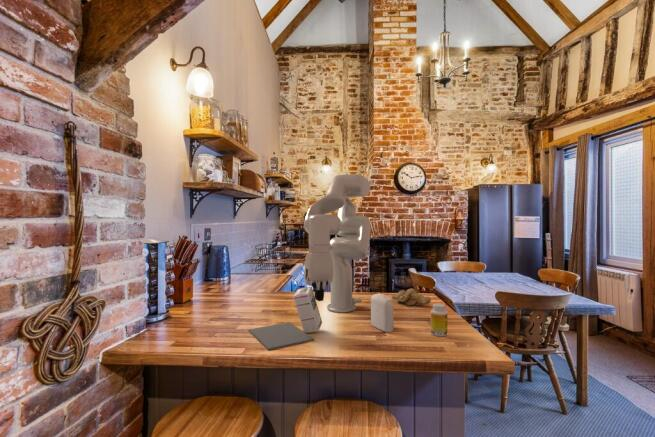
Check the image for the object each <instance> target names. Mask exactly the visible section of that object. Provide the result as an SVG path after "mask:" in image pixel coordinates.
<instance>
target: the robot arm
mask: <svg viewBox="0 0 655 437" xmlns="http://www.w3.org/2000/svg"><path fill="white" fill-rule="evenodd" d="M326 191H327V192H326V194H325V195H324V196H323V197H321V198H319V199H318V200H316V201H315V202H314V203H312V204H311V205H310V206H309V208H308V209H307V212H306V215H305V218H304V219H303V220H304V222H303V228H304V231H305V232H306V233H307V234H308V253H306V255H305V259H304V260H305V261H304V267H303V268H304V271H303V272H304V273H303V278H304V280H305V285H306V286H309V287H312V289H313V290H314V296H315V300H316V302H323V301H324V300H325V299H324V298H325V290H326V288H327V286H328V284H330V303H329V304H327V306H326V309H327V310H328V311H330V312H333V313H350V312H354V311H355V310H356V309H357V306H356V305H355V304H356V303H357V304H359V303H362V298H360V297H358V298H356V297H353V268H352V266H351V263H350V262H349V261H348V260H365V259H366V258H367V257H368V254H369V247H370V238H371V228H372V227H371V221H370V219H369V217H368V216H365V215H356V214H357V207H356V205H355V204H354V202H353V201H352V200H351V199H350V198H356V197H357V198H359V197H361V198H362V197H367V196H368V195H369V194H370V192H371V184H370V181H369V179H368V178H367V177H365V176H363V175H361V174H357V173H355V174H354V173H350V174H337V175H334V177H332V179H331V181H330V184H329V186H328V189H327V190H326ZM335 211H337V214H330V213H333V212H335ZM331 235H337V236H336V237H332V238H331Z"/></svg>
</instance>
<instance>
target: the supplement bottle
mask: <svg viewBox="0 0 655 437" xmlns="http://www.w3.org/2000/svg"><path fill="white" fill-rule="evenodd" d="M430 333H431V335H433V336H434V337H447V335H448V311H447V310H446V305H445V304H443V303H433V305H432V309H431V310H430Z"/></svg>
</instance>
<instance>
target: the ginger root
mask: <svg viewBox="0 0 655 437" xmlns="http://www.w3.org/2000/svg"><path fill="white" fill-rule="evenodd" d="M391 298H392V299H393V300H396V303H398V304H401V303H403V304H405V305H406V306H407V307H409V306H410V307H411V306H414V305H415V306H421V307H422V306H426V305H429V304H430V303H431V302H432V299H431V297H430V296H428V295H427V296H425V295H423V294H421V293H419V292H417V291H416V290H415V289H414V287H413V288H412V287H411V288H408V289H407V290H404V289H401V290H399V291H398V292H397V293H396V294H393V295H391Z"/></svg>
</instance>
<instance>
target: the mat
mask: <svg viewBox="0 0 655 437" xmlns="http://www.w3.org/2000/svg"><path fill="white" fill-rule="evenodd" d="M248 332H249V333H250V335H252V336H253V337H254V338H255V340H257V341H258V342H259V343H260V344H261V345H262V346H263V347H265V349H266V350H267V351H272V350H277V349H282V348H285V347H292V346H295V345H300V344H305V343H309V342H314V341H315V338H314V337H312V336H311V335H309V334H308V333H305V332H304V331H303V329H300V328H299V327H297V326H296V325H295V324H293V323H291V322H289V321H288V322H283V323H278V324H273V325H266V326H261V327H254V328H250V329H248Z"/></svg>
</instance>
